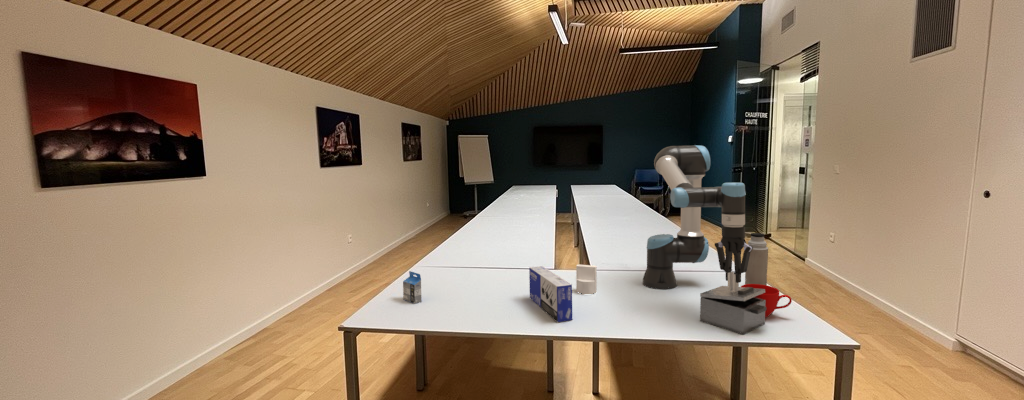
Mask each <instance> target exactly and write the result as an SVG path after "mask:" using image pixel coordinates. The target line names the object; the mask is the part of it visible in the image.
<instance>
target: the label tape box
mask: <svg viewBox="0 0 1024 400" xmlns="http://www.w3.org/2000/svg"><path fill="white" fill-rule="evenodd" d="M408 273H409V276H408V277H407V278H405V279H404V280H403V281H402V291H403V293H402V296H403V297H402V299H403V301H405V302H410V303H412V304H419V302H420V303H422V301H423V300H422V278H421V274H420V273H417V272H414V271H410V270H409V271H408Z"/></svg>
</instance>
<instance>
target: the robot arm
mask: <svg viewBox="0 0 1024 400" xmlns="http://www.w3.org/2000/svg"><path fill="white" fill-rule="evenodd" d="M653 162H654V163H653V165H654V169H655V171H656V172H657V173H658V174H659V175H661V176H662V177H663V180H664V181H665V182H666V184H667V185H668V187H669V189H670V195H669V196H670V197H669V198H670V202H671V205H672V207H674V208H680V230H679V231H678V232H676V237H674V235H672V234H670V233H667V234H665V233H663V234H662V233H660V234H654V235H651V236H650V237H648V238H647V241H646V269H645V272H644V275H643V277H642V285H644V286H645V285H646V286H645V287H647V286H648V287H647V288H651V287H652V289H656V288H657V290H668V289H669V290H670V289H671V290H672V289H674V288H676V287H677V286H678V285H677V281H678V280H677V279H676V275H675V272H674V264H677V263H679V264H681V263H682V264H683V263H684V264H685V263H686V264H687V263H689V264H691V263H692V264H695V263H703V262H704V261H705V260H706V259H707V258H708V254H709V250H710V244H709V240H708V238H707V237H705V234H704V232H702V231H701V230H702V229H701V224H702V222H701V219H702V217H701V216H702V208H721V240H720V241H718V242H715V243H714V247H715V248H716V252H717V258H718V264H719V268H720V269H719V270H722V271H724V272H725V281H727V286H728V291H731V290H733V292H736V291H739V287H740V286H739V285H740V283H741V282H742V274H744V273H745V272H746V271H747V267H748V262H749V257H750V252H751V251H752V249H753V247H752V246H749V245H748V243H747V241H746V240H745V239H746V227H745V225H746V193H747V191H746V185H745V183H743V182H724V183H722V184H721V186H714V187H713V186H709V187H708V186H707V187H706V186H705V187H704V186H703V187H702V179H703V177H705V176H706V172H708V171H709V170H710V168H711V155H710V152H709V150H708V148H707V147H706V146H704V145H696V144H694V145H670V146H666V147H664V148H662V149H661V150H660V151H659V152H658V153H656V156H655V158H654V160H653ZM724 249H725V250H724ZM742 250H744V251H743V253H742ZM733 260H734V261H733ZM733 262H734V271H733V269H732V268H733V266H732V265H733Z"/></svg>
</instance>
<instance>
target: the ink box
mask: <svg viewBox="0 0 1024 400" xmlns="http://www.w3.org/2000/svg"><path fill="white" fill-rule="evenodd" d="M528 270H529V279H528V280H529V298H531V299H530V300H531V301H533V302H534V303H535V304H536V305H537V304H538V305H539V308H541V310H543V311H544V312H547V315H549V316H550V317H551V318H552V319H553V320H554V321H556V322H557V323H561V322H567V321H568V322H570V321H573V284H572V283H570V282H569V281H568V280H565V279H564V278H562V277H561V276H559V275H557V274H556V273H554V272H553V271H552V270H549V269H548V268H547V267H545V266H543V265H540V266H532V267H529V268H528ZM538 305H537V306H538Z"/></svg>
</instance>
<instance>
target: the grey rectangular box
mask: <svg viewBox="0 0 1024 400" xmlns="http://www.w3.org/2000/svg"><path fill="white" fill-rule="evenodd" d="M765 304H766V300H764V299H760V298H756V297H753V298H751V299H748V300H746V301H736V300H727V299H717V298H707V297H701V296H700V304H699V305H700V307H699V321H700V322H702V323H705V324H708V325H712V326H714V327H717V328H721V329H723V330H728V331H730V332H733V333H736V334H740V335H746V334H748V333H750V332H751V331H754V330H756V329H757V328H760V327H762V326H764V325H765V324H766V323H765V322H766V317H765V311H766V307H765Z"/></svg>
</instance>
